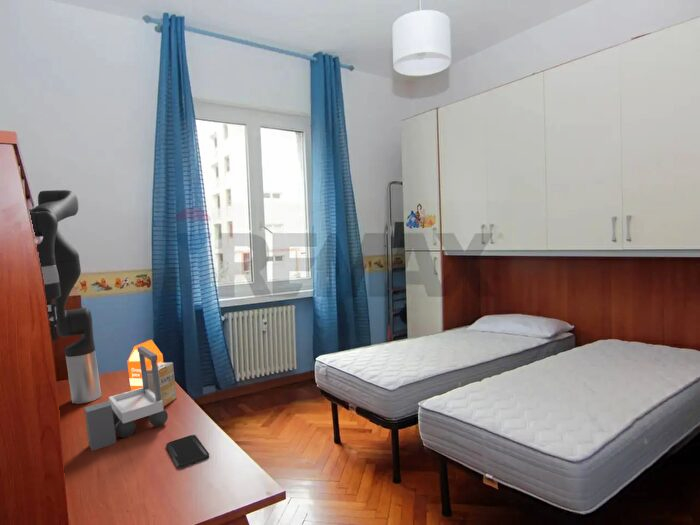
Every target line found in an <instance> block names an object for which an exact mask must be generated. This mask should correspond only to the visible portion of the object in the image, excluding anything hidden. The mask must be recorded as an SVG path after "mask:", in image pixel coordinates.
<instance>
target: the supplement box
mask: <svg viewBox="0 0 700 525" xmlns="http://www.w3.org/2000/svg"><path fill="white" fill-rule="evenodd" d="M174 371H175V370H174V362H163V363H160V364H158V374H159V382H160V390H161V398H162V402H163V408H164V407H166V406H167V405H168V404H170V403H171V402H172V401H174V400H177V390H176V381H175V380H176V379H175V372H174ZM147 378H148V386H149V390H150V391H152V392H153V393H154V394H155V390H154V382H153V374H152V368H150V369H148V370H147Z"/></svg>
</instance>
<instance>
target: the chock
mask: <svg viewBox="0 0 700 525" xmlns="http://www.w3.org/2000/svg"><path fill="white" fill-rule="evenodd" d="M83 409H84V416H85V422H86V430H87V437H88V438H87V439H88V444H89V448H90V450H91V452H94V451H97V450H100V449H102V448H105V447H108V446H111V445H114V444H116V443H117V437H116V431H115V425H114V420H113V413H112V405H111V404H110V402H109V400H105V401H103V402H99V403H96V404H92V405H88V406H85V407H84V408H83ZM93 450H94V451H93Z"/></svg>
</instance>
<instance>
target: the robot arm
mask: <svg viewBox="0 0 700 525" xmlns="http://www.w3.org/2000/svg"><path fill="white" fill-rule="evenodd" d="M37 204H38V205H36V206H35V207H34V208H31V209H28V210H29V211H30V215H31V220H32V224H33V229H34V232H35V236H36V237H35V238H39V237H42V240H41V241H40V242H39V243H38V244H36V245H37V248H38V252H39V258H40V263H41V268H42V273H43V279H44V285H45V292H46V299H47V307H48V314H49V320H50V327H51V335H52V341H51V342H53V341H58V335H59V337H60V338H65V337H66V338H67V337H72V336H78V335H82V337H81V338H80V339H78V340H77V341H75V342H73V343H71V344H70V345H67V346H66V347H65V348H64V355H65V360H66V362H65V363H66V368H67V377H68V383H69V390H70V391H69V392H70V397H71V403H72V404H74V403H75V404H76V405H79V404H80V405H81V404H86V403H90V402H93V401H96V400H98V399H99V398H101V397H102V392H101V391H102V390H101V383H100V375H99V369H98V362H97V352H96V347H95V340H94V330H93V317H92V312H91V310H90V309H89V308H88V307H80V308H74V309H67V310H66V304H67V301H68V298H69V296H70V294H71V292H72V290H73V289H74V287H75V285H76V284H77V282H78V280H79V278H80V275H81V273H82V269H81V268H82V267H81V262H80V254H79V253H78V251H77V249H76V248H75V247H74V246H73V245H72V243H71V242H69V241H68V240H67V239H66V238H65V236H64V235H63V234H62V233H61V231H60V230H59V228H58V227H59V222H61V221H62V220H64V219H67V218H70V217H74V216H76V215H77V214H78V212H79V201H78V197H77V195H76V193H74V192H73V191H72V190H67V189H66V190H65V189H62V190H60V189H58V190H57V189H56V190H41V191H39V192H38V194H37ZM75 404H74V405H75Z"/></svg>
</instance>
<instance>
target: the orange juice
mask: <svg viewBox="0 0 700 525" xmlns="http://www.w3.org/2000/svg"><path fill="white" fill-rule="evenodd" d="M140 346H144V347H145V348H147V349H148V350H150V351H152V352H153V353H155V354H156V355H157V359H158V360H157V365H158V364H160V363H164V356H163V355H164V354H163V353H162V352H161V351H160V349H159V347H158V346H157V345H156V344H155V343H154V341H153V340H152V339H149V340H146V341H145V342H141V343H139V344H137V345H134V347H133V349H132V351H131V353H130V355H129V357H128V359H127V370H128V377H129V378H128V379H129V385H130V391H132V390H135V389H139V388H143V382H142V374H141V366H140V358H139V352H138V348H137V347H140ZM145 362H146V370H148V369H150V368H152V365H151V361H150V360H149V359H147V358H146V357H145Z"/></svg>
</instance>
